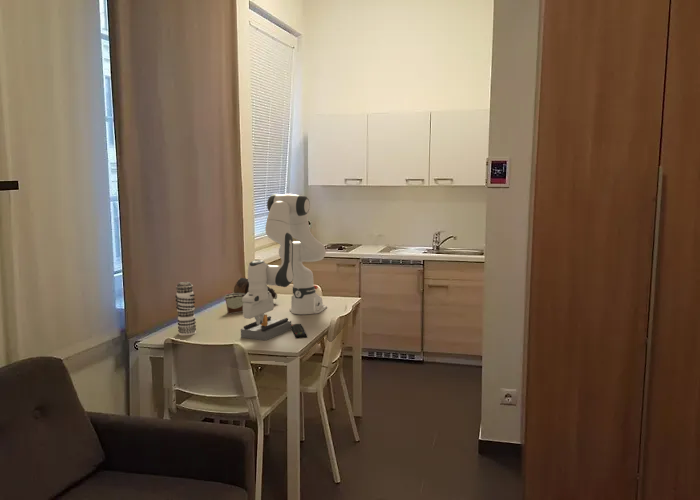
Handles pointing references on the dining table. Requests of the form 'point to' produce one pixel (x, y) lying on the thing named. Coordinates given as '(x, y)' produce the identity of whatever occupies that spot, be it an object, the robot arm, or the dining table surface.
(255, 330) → the tray
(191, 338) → the dining table surface
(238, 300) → the food container
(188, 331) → the decorative candle
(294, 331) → the remote control
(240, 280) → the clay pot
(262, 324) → the lever
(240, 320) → the dining table surface
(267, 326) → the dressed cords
